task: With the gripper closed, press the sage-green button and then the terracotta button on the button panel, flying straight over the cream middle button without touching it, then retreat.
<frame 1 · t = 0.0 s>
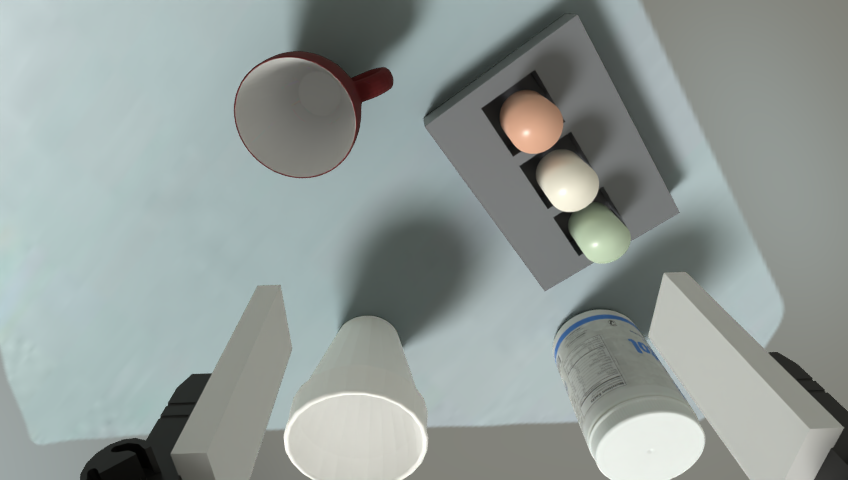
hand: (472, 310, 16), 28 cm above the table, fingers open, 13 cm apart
button panel: (549, 161, 43), on the table
supplement tub: (591, 339, 53), on the table
button sage: (597, 232, 41), point 5 cm above the table, slide at 0.0 cm
mug: (333, 86, 40), on the table
cup: (368, 339, 52), on the table
button terracotta: (529, 120, 37), point 5 cm above the table, slide at 0.0 cm
button cream: (565, 179, 39), point 5 cm above the table, slide at 0.0 cm
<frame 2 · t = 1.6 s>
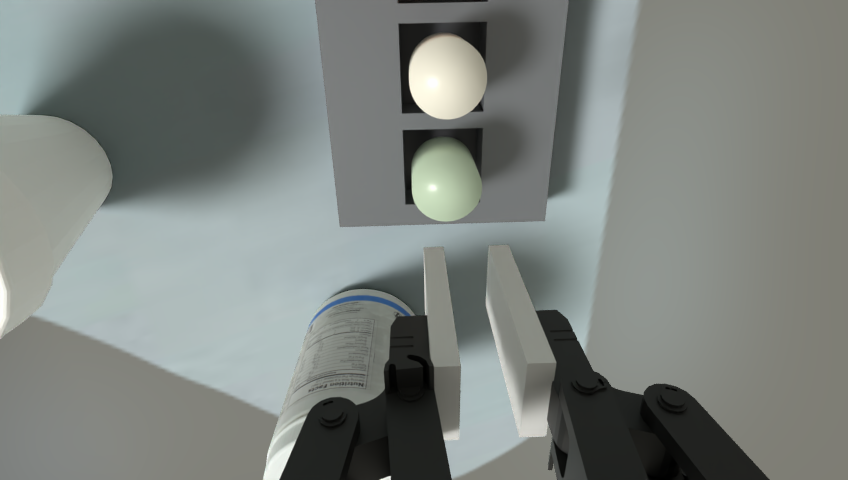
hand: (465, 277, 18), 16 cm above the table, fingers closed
button panel: (439, 63, 30), on the table
supplement tub: (365, 329, 40), on the table
button sage: (444, 177, 29), point 5 cm above the table, slide at 0.0 cm
cup: (62, 164, 33), on the table
button cream: (445, 74, 26), point 5 cm above the table, slide at 0.0 cm
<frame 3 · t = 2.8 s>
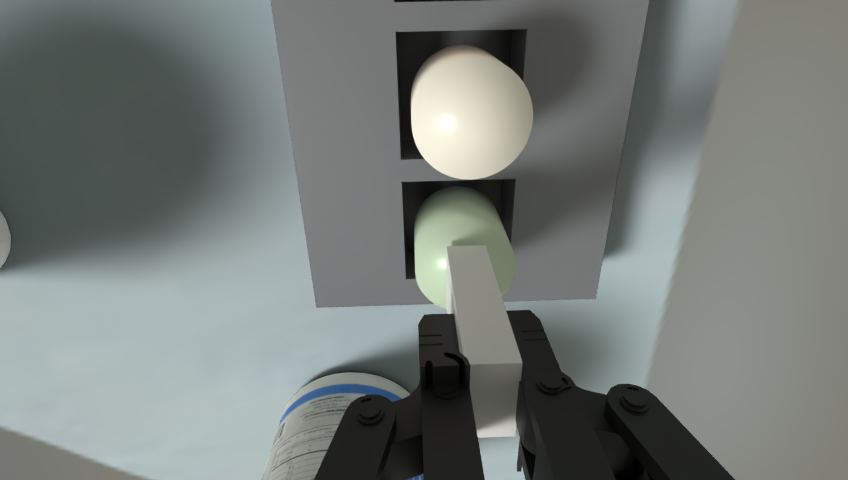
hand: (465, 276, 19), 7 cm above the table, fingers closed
button panel: (453, 85, 22), on the table
supplement tub: (355, 416, 32), on the table
button sage: (460, 246, 20), point 5 cm above the table, slide at 0.5 cm, touching gripper
button cream: (465, 108, 17), point 5 cm above the table, slide at 0.0 cm
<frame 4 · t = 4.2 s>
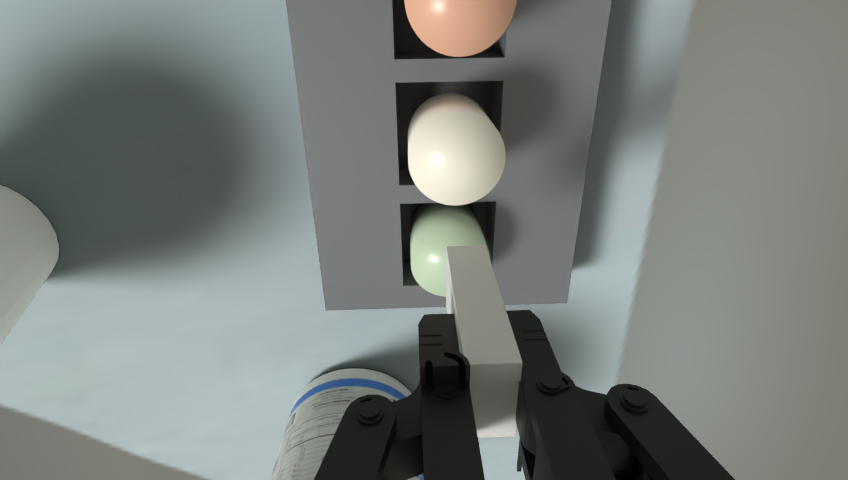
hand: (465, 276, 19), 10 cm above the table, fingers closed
button panel: (444, 121, 26), on the table
supplement tub: (357, 409, 35), on the table
button sage: (447, 245, 26), point 3 cm above the table, slide at 2.0 cm
button cream: (452, 146, 21), point 5 cm above the table, slide at 0.0 cm
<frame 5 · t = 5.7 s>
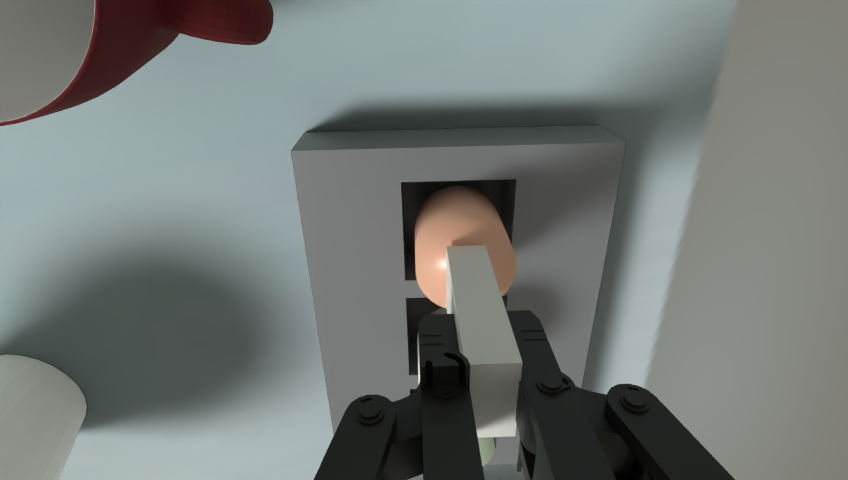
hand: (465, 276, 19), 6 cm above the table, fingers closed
button panel: (451, 303, 27), on the table
button sage: (454, 420, 27), point 3 cm above the table, slide at 2.0 cm
cup: (30, 394, 30), on the table
button terracotta: (461, 245, 20), point 4 cm above the table, slide at 0.8 cm, touching gripper
button cream: (459, 363, 23), point 5 cm above the table, slide at 0.0 cm
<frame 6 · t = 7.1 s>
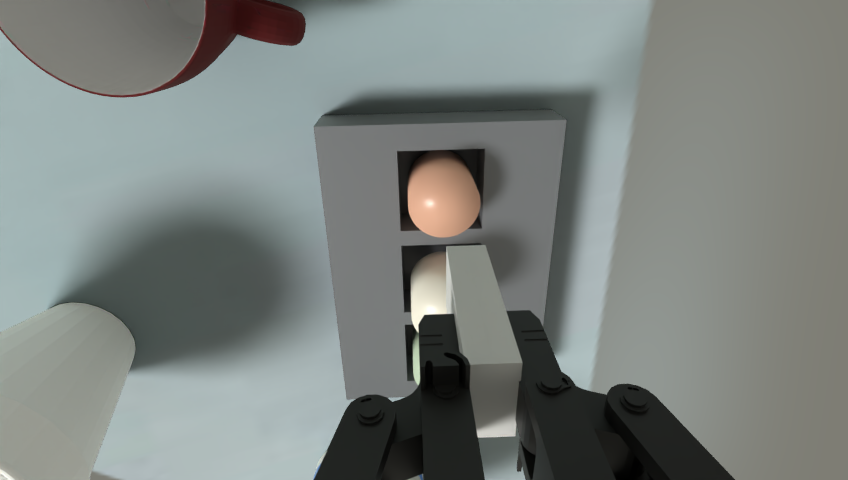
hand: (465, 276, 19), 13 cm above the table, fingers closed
button panel: (438, 256, 33), on the table
button sage: (441, 352, 33), point 3 cm above the table, slide at 2.0 cm
cup: (89, 338, 35), on the table
button terracotta: (441, 192, 28), point 3 cm above the table, slide at 2.0 cm
button cream: (443, 295, 29), point 5 cm above the table, slide at 0.0 cm
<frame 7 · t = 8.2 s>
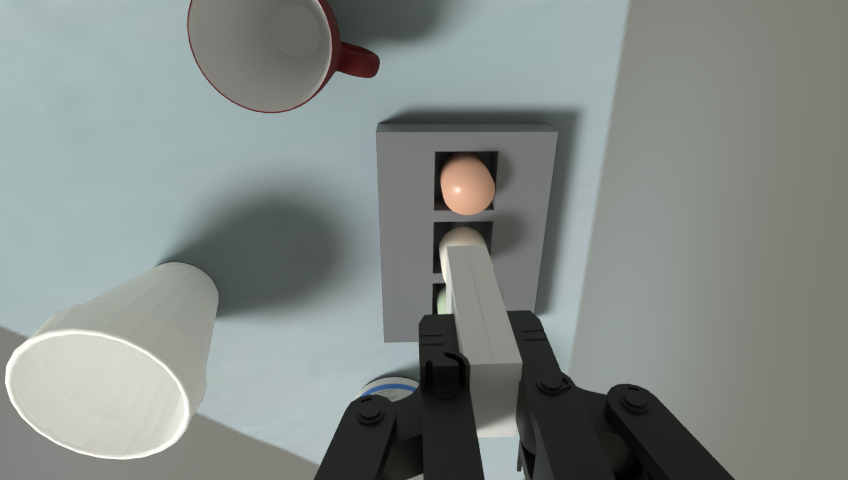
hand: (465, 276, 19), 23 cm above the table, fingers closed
button panel: (458, 232, 43), on the table
supplement tub: (394, 403, 53), on the table
button sage: (459, 306, 43), point 3 cm above the table, slide at 2.0 cm
mug: (314, 34, 36), on the table
cup: (182, 291, 45), on the table
button terracotta: (465, 182, 38), point 3 cm above the table, slide at 2.0 cm
button cream: (464, 259, 39), point 5 cm above the table, slide at 0.0 cm
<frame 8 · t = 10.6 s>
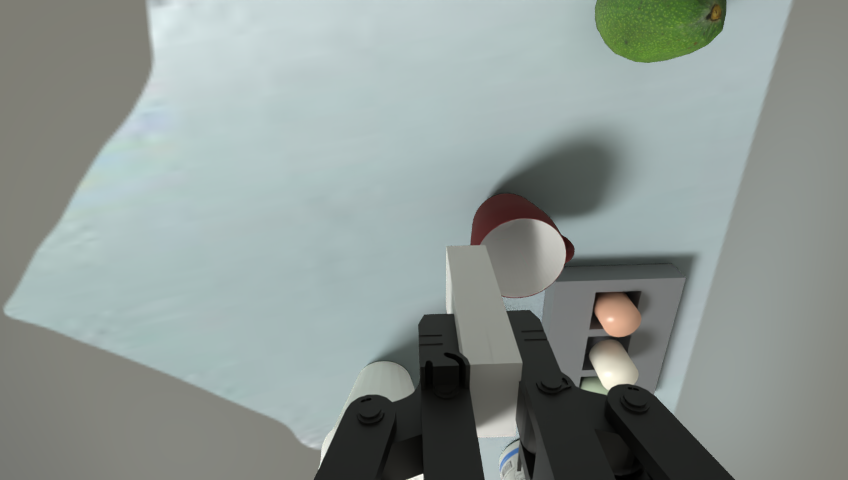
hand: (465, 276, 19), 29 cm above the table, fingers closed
button panel: (597, 336, 58), on the table
supplement tub: (530, 455, 67), on the table
button sage: (598, 391, 58), point 3 cm above the table, slide at 2.0 cm
mug: (511, 213, 50), on the table
cup: (384, 380, 60), on the table
button terracotta: (615, 311, 52), point 3 cm above the table, slide at 2.0 cm
fruit: (626, 5, 41), on the table
button cream: (612, 365, 53), point 5 cm above the table, slide at 0.0 cm
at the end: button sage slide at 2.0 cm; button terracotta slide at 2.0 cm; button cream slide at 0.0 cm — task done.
